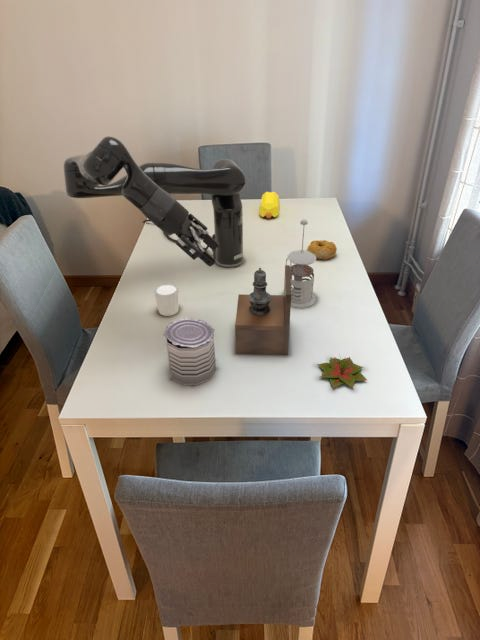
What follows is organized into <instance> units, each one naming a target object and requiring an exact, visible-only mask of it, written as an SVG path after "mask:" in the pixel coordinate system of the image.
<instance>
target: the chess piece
mask: <svg viewBox="0 0 480 640" xmlns="http://www.w3.org/2000/svg"><path fill="white" fill-rule="evenodd" d="M252 286H253V291H252V292H250V294H248V295H249V296H248V299H249V301H250V304H251V306H250V308H249V310H250V312H251V313H253V314H256V315H264V314H267V313H268V312H269V311H270V307H269V306H268V305H269V303H270V300H271V295H272V294H270V293H269V292H267V286H268V282H267V273H266V271H264V269H262V268H261V267H259V268H258V269H257V270H255V272H254V274H253V282H252Z"/></svg>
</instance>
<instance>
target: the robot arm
mask: <svg viewBox="0 0 480 640" xmlns="http://www.w3.org/2000/svg"><path fill="white" fill-rule="evenodd" d="M122 169H124V171H125V173H126V175H124V176H122V177H121V178H119V179H117V180H115V181H114V179H115V178H116V177H117V176H118V175H119V174H120V172H121V171H122ZM63 177H64V178H63V179H64V187H65V193H66V196H68V197H70V198H74V199H94V198H95V199H96V198H107V197H108V198H109V197H121V196H122V197H124V198H125V199H126V200H127V201H128V202H130V204H131V205H133V206H134V207H135V208H137V209H138V210H139V211H140V212H141V213H142V214H143V215H144V216H145V217H146V218H147V219H145V220H143V221H142V224H145V223H146V222H151V223H152V224H154V225H155V226H156V227H157V228H158V229H159V230H161V231H162V232H163V234H164V235H165V236H166V238H167V239H169V240H170V241H172V242H174V243H175V245H176V246H177V247H178V248H180V249H181V251H183V252H184V253H185V254H186V255H187V256H188V257H190V258H191V259H192V260H194V261H195V260H196V259H198V258H199V259H200V260H201V261H202V262H203V263H205V264H206V266H208V267H212V266H213V265H215V264H217V265H218V266H220V267H222V268H235V267H238V266H240V265H242V264H243V263H244V221H243V220H244V213H243V211H244V210H243V208H244V207H243V202H242V199H241V192H242V191H243V189H245V186H246V180H247V179H246V175H245V173H244V172H243V170H242V169H241V168H240V167H239V166H238V164H236V162H235V161H233V160H231V159H230V158H229V159H228V158H221V159H219V160H217V161H216V162H214V163H213V165H212V167H211V168H195V167H190V166H187V165H186V166H185V165H182V164H178V163H172V162H145V163H142V164H139V165H138V163H137V162H136V160H135V159H134V158H133V156H132V154H131V153H130V151H129V150H128V148H127V147H126V146H125V144H124V143H123V142H122V141H121V140H120V139H119V138H117V137H115V136H109V135H108V136H104V137H103V138H102V139H101V140H100V141H99V142H98V143H97V145H96V146H95V147H94V148H93V149H92V150H91V151H89V152H88V153H86V154H79V155H73V156H69V157H67V158H66V159H65V160H64V162H63ZM183 195H185V196H187V195H209V196H210V197H211V205H212V210H213V228H214V229H213V230H214V233H213V234H212V235H210V233H209V231H208V227H207V226H206V225H205V224H204V223H203V222H202V221H200V219H198V218H197V217H195V215H193V214H192V213H189V210H188V209H186V208H185V206H183V205H182V204H181V203H180V202H179V201H177V200H176V198H174V197H173V196H183ZM172 235H175V236H176V237H177V238H178V239H174V238H172V237H171V236H172ZM202 242H203V243H204V244H205V245H206V247H203V246H202ZM208 249H211V251H212V255H211V254H210V253H209V252H208V251H207V250H208Z"/></svg>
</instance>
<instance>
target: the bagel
mask: <svg viewBox="0 0 480 640" xmlns="http://www.w3.org/2000/svg"><path fill="white" fill-rule="evenodd" d="M337 250H338V248H337V246H336V244H335V242H333V241H328V240H325V239H324V240H312V241H311V242H310V244H309V245H308V246H307V249H306V251H309V252H311V253H313V254H314V255H315V256H316V259H318V260H323V261H324V260H325V261H326V260H329V259H332V258H334V257H335V256H336V253H337Z"/></svg>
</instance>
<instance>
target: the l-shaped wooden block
mask: <svg viewBox="0 0 480 640" xmlns="http://www.w3.org/2000/svg"><path fill="white" fill-rule="evenodd" d="M283 281H284V283H283V294H270V295H271V300H270V303H269V305H268V306H269V307H270V311H269V312H268V313H267V314H264V315H256V314H253V313H251V312H250V310H249V308H250V306H251V304H250V301H249V299H248V296H249V294H242V293H241V294H240V293H239V294H238V295H237V296H238V297H237V304H236V305H237V306H236V307H237V308H236V314H235V324H234V331H235V332H234V333H235V336H234V337H235V338H234V339H235V354H238V355H271V356H272V355H274V356H275V355H276V356H277V355H278V356H288V355H289V346H290V345H289V344H290V325H291V309H292V308H291V307H292V306H291V290H292V289H291V287H292V286H291V278H290V264H289V265H288V264H287V265H286V264H285V265H284V280H283Z"/></svg>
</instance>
